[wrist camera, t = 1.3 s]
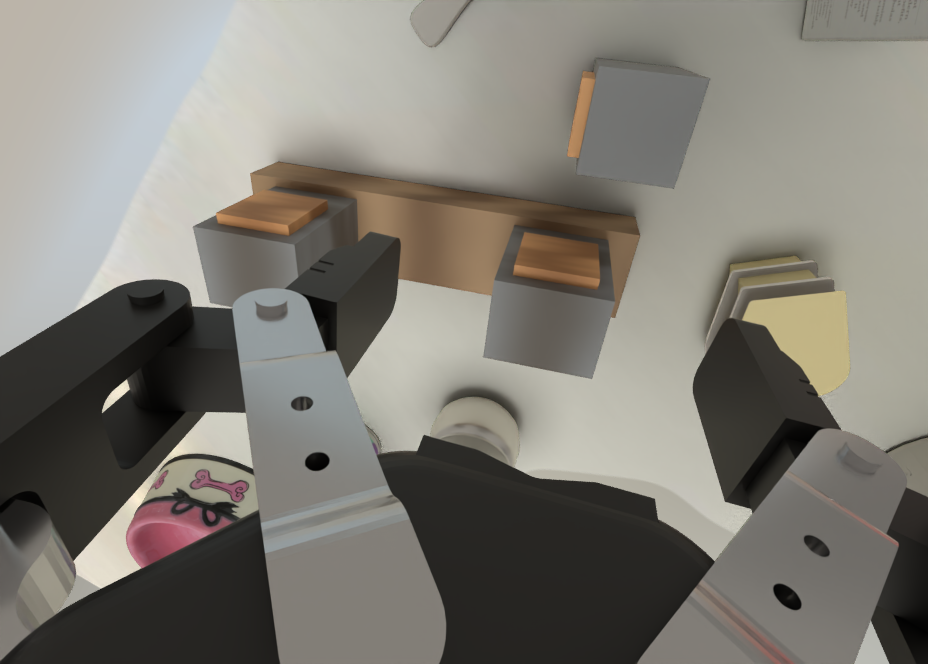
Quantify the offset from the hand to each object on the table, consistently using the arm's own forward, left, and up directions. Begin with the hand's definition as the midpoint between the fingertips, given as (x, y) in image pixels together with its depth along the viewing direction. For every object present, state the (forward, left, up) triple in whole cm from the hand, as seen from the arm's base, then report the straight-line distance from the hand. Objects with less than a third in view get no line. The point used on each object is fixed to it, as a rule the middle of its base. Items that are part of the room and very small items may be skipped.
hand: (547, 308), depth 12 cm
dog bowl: (+28, +42, -18) cm, 53 cm away
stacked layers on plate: (-12, +7, -18) cm, 23 cm away
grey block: (-2, -3, -18) cm, 18 cm away
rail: (+7, +5, -17) cm, 19 cm away
